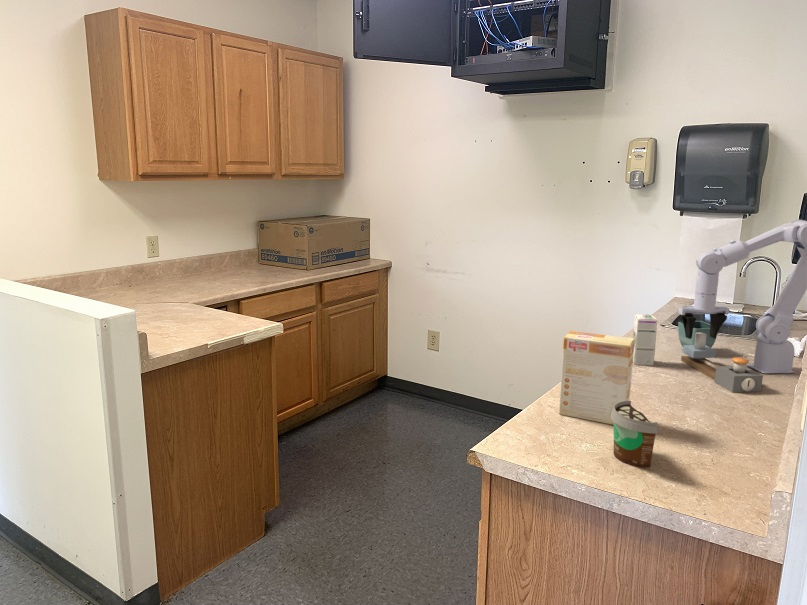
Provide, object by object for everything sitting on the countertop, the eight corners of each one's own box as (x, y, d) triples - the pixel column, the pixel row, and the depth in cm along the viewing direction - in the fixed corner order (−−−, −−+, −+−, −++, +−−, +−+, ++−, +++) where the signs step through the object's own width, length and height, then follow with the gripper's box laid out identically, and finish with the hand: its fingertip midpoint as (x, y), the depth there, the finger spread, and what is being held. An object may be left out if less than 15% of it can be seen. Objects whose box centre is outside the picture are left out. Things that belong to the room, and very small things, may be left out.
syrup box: (654, 366, 180) (658, 319, 177) (633, 364, 181) (637, 318, 178) (650, 360, 186) (655, 314, 183) (630, 359, 187) (634, 313, 184)
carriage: (703, 351, 185) (706, 330, 183) (715, 357, 179) (718, 336, 177) (682, 352, 184) (684, 331, 183) (693, 358, 178) (695, 336, 177)
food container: (597, 444, 129) (601, 400, 127) (625, 443, 129) (629, 399, 127) (623, 472, 117) (627, 424, 115) (653, 471, 118) (658, 423, 115)
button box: (741, 381, 168) (743, 365, 167) (761, 392, 160) (764, 376, 159) (714, 381, 167) (716, 366, 166) (733, 392, 159) (735, 376, 158)
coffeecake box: (628, 416, 143) (635, 337, 139) (623, 427, 137) (631, 345, 133) (565, 404, 150) (570, 329, 146) (558, 414, 144) (563, 336, 140)
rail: (699, 360, 186) (700, 352, 186) (735, 380, 169) (737, 371, 168) (680, 360, 186) (681, 352, 185) (715, 380, 168) (716, 372, 168)
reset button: (741, 369, 165) (742, 357, 164) (750, 374, 161) (751, 361, 160) (727, 370, 164) (729, 357, 164) (736, 374, 161) (738, 361, 160)
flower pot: (716, 354, 192) (720, 327, 190) (692, 356, 190) (696, 328, 188) (697, 346, 200) (700, 320, 199) (674, 348, 199) (677, 321, 197)
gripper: (721, 290, 182) (715, 333, 185) (675, 290, 180) (670, 334, 183) (735, 295, 175) (729, 340, 178) (688, 295, 174) (682, 340, 177)
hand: (700, 337), depth 180 cm, fingers open, 7 cm apart
